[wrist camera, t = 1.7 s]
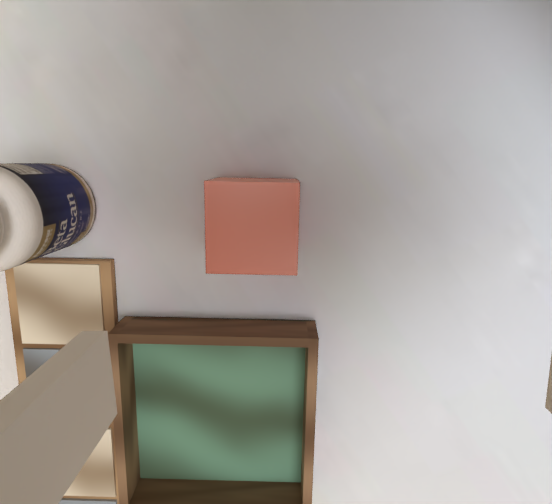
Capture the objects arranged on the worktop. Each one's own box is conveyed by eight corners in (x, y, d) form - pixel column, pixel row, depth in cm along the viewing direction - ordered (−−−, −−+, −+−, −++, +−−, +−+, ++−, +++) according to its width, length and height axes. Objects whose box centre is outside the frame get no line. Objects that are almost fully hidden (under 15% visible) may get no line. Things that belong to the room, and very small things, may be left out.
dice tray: (124, 316, 29) (107, 333, 26) (314, 320, 29) (318, 338, 26) (135, 480, 32) (119, 512, 29) (308, 484, 31) (311, 517, 28)
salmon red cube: (218, 177, 27) (204, 180, 22) (296, 178, 27) (299, 182, 22) (219, 253, 28) (206, 273, 23) (294, 255, 28) (297, 275, 23)
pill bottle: (97, 250, 28) (1, 297, 18) (16, 241, 28) (-123, 283, 18) (99, 168, 27) (-2, 172, 17) (15, 158, 27) (-134, 156, 17)
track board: (9, 257, 28) (1, 259, 27) (113, 259, 28) (109, 262, 27) (44, 554, 33) (39, 563, 32) (133, 556, 33) (129, 566, 32)
